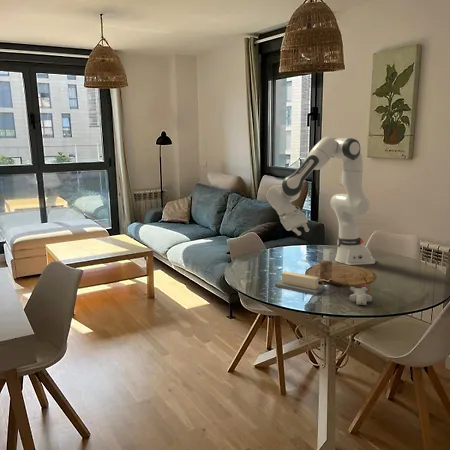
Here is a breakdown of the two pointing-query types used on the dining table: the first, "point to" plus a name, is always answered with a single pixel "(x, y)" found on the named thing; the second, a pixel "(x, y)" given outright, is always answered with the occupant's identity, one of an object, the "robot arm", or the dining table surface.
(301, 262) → the dining table surface
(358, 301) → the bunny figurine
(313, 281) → the stand
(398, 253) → the dining table surface
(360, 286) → the wooden tablet
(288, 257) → the dining table surface
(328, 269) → the walnut pillar
